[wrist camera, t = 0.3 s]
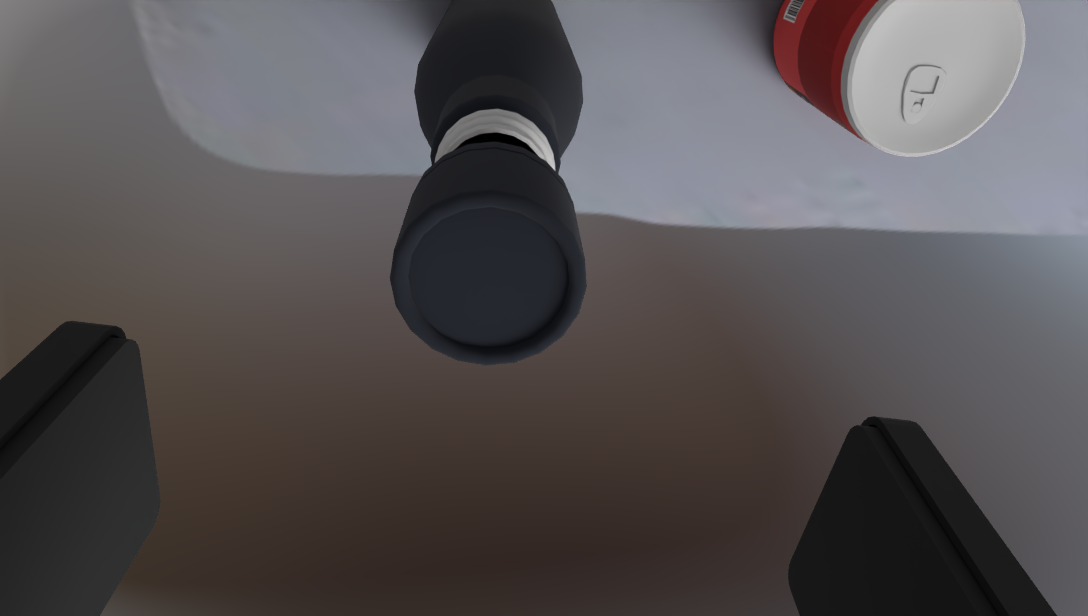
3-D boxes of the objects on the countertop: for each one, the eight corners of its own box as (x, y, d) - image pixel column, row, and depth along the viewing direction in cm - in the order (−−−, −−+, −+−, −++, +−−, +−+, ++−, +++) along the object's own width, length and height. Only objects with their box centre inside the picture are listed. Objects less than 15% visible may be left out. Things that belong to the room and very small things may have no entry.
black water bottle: (466, -49, 38) (373, 65, 12) (579, 0, 40) (711, 197, 14) (429, 69, 41) (287, 366, 15) (535, 111, 43) (575, 450, 16)
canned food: (769, 111, 43) (843, 171, 34) (766, -37, 39) (849, -16, 30) (900, 88, 43) (1013, 142, 33) (911, -64, 39) (1042, -51, 29)
